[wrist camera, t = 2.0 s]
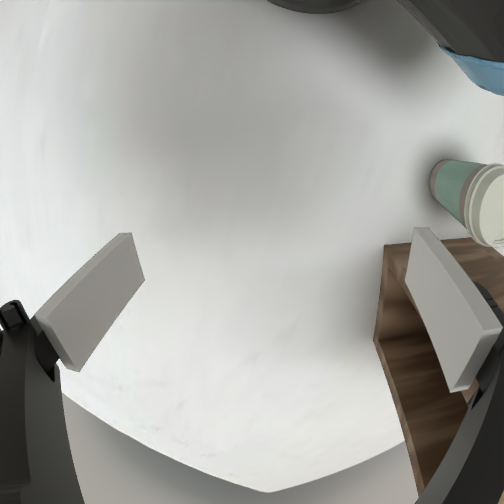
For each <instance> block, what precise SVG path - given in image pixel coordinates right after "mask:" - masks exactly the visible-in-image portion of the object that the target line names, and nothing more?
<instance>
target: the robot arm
mask: <svg viewBox="0 0 504 504" xmlns="http://www.w3.org/2000/svg"><path fill="white" fill-rule="evenodd" d="M268 1H270V2H272V3H274V4H276V5H279V6H281V7H284V8H287V9H290V10H294V11H299V12H305V13H332V12H337V11H341V10H344V9H347V8H349V7H351V6H353V5H355V4H356V3H358V2H359V1H360V0H268ZM397 1H399V2H400V3H401V4H402V5H403V6H404V7H405V8H406V9H407V10H408V11H409V12H410V13H411V14H412V15H413V16H414V17H415V18H416V19H417V20H418V21H419V22H420V23H421V24H422V25H423V26H424V27H425V28H426V29H427V31H428V32H429V33H430V34H431V35H432V36H433V37H434V38H435V40H436V41H437V43H438V44H439V47H440V48H441V49H442V50H443V51H444V52H445V53H447V54H448V55H450V56H451V57H452V58H453V59H454V61H455V62H456V63H457V64H458V65H459V66H460V68H461V69H462V70H463V71H464V73H465V74H466V75H467V76H468V78H469V79H470V80H471V81H472V82H473V83H475V84H476V85H477V86H479V87H480V88H482V89H485V90H487V91H491V92H492V93H494V94H497V95H501V96H504V0H397ZM144 281H145V279H144V275H143V272H142V269H141V265H140V262H139V258H138V255H137V251H136V248H135V244H134V240H133V237H132V233H119V234H118V235H117V236H115V237H114V238H113V239H112V240H111V241H110V242H109V243H107V244H106V245H105V246H104V247H103V248H102V249H101V250H100V251H98V252H97V253H96V254H95V255H94V256H93V257H92V258H91V259H90V260H89V261H88V262H86V263H85V264H84V265H83V266H82V267H81V268H80V269H79V270H78V271H77V272H76V273H75V274H74V275H73V276H72V277H71V278H70V279H69V280H68V281H67V282H65V283H64V284H63V285H62V286H61V287H60V288H59V289H58V290H57V291H56V292H55V293H54V294H53V295H52V296H51V298H50V299H49V300H48V301H47V302H46V303H45V304H44V305H43V306H42V307H41V308H40V309H39V310H38V311H37V312H36V313H35V314H34V316H33V317H32V318H31V319H29V317H28V315H27V314H26V312H25V310H24V308H23V306H22V304H21V302H20V301H19V300H13V301H10V302H8V303H6V304H4V305H3V306H2V307H1V308H0V324H1V326H2V328H3V329H4V330H3V331H1V329H0V504H85V503H84V500H83V497H82V493H81V490H80V486H79V483H78V480H77V475H76V472H75V468H74V464H73V460H72V455H71V450H70V445H69V440H68V435H67V430H66V423H65V416H64V409H63V401H62V393H61V382H60V370H59V367H58V365H57V364H56V362H57V361H58V359H59V358H60V360H61V361H62V363H63V364H64V366H65V367H66V368H67V369H70V370H73V371H76V372H80V370H81V369H82V367H83V366H84V364H85V363H86V361H87V360H88V358H89V357H90V355H91V354H92V353H93V351H94V350H95V348H96V347H97V345H98V344H99V342H100V341H101V339H102V338H103V337H104V335H105V334H106V332H107V331H108V329H109V328H110V327H111V325H112V324H113V322H114V321H115V320H116V318H117V317H118V316H119V314H120V313H121V311H122V310H123V309H124V307H125V306H126V305H127V303H128V302H129V301H130V299H131V298H132V296H133V295H134V294H135V292H136V291H137V290H138V288H139V287H140V286H141V285H142V283H143V282H144ZM405 282H406V284H407V286H408V288H409V291H410V293H411V295H412V297H413V299H414V301H415V304H416V306H417V308H418V310H419V313H420V315H421V317H422V319H423V322H424V324H425V326H426V329H427V331H428V334H429V336H430V339H431V341H432V344H433V346H434V349H435V351H436V354H437V357H438V359H439V362H440V365H441V367H442V370H443V373H444V376H445V379H446V382H447V385H448V388H449V391H450V393H452V392H457V391H461V390H466V389H469V387H470V385H471V384H472V382H473V381H474V379H475V378H476V379H477V382H478V384H479V387H478V388H477V390H476V391H475V393H474V394H473V395H472V397H471V398H470V400H469V401H468V403H467V404H466V406H469V408H468V410H467V412H466V415H465V417H464V419H463V421H462V423H461V426H460V428H459V430H458V432H457V434H456V436H455V438H454V440H453V442H452V444H451V446H450V448H449V449H448V451H447V453H446V455H445V457H444V459H443V460H442V462H441V464H440V466H439V467H438V469H437V471H436V472H435V474H434V476H433V477H432V479H431V480H430V482H429V483H428V485H427V487H426V488H425V490H424V491H423V493H422V494H421V495H420V497H419V498H418V500H417V501H416V503H415V504H498V502H499V500H500V498H501V496H502V493H503V491H504V313H503V312H502V310H501V309H500V307H498V304H497V303H496V302H495V300H493V297H492V296H491V295H490V293H489V292H488V290H487V289H486V288H484V287H483V286H482V285H480V284H479V283H478V282H472V281H471V279H470V278H469V277H468V275H467V274H466V273H465V271H464V270H463V269H462V267H461V266H460V265H459V264H458V262H457V261H456V260H455V258H454V257H453V256H452V255H451V253H450V252H449V251H448V250H447V249H446V247H445V246H444V245H443V244H442V243H441V241H440V240H439V239H438V238H437V237H436V235H435V234H434V233H433V232H432V231H431V230H430V229H429V228H422V227H414V230H413V237H412V244H411V250H410V256H409V261H408V267H407V272H406V277H405ZM469 404H470V405H469Z"/></svg>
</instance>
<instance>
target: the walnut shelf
mask: <svg viewBox="0 0 504 504" xmlns="http://www.w3.org/2000/svg"><path fill="white" fill-rule="evenodd" d="M440 241H441V243H442V244H443V245H444V246H445V247H446V249H447V250H448V251H449V252H450V253H451V255H452V256H453V257H454V258H455V260H456V261H457V262H458V264H459V265H460V266H461V267H462V269H463V270H464V271H465V273H466V274H467V275H468V277H469V278H470V279H471V281H472V282H478V283H479V284H480V285H482V286H483V287H484V288H486V289H487V290H488V292H489V293H490V295H491V296H492V297H493V300H495V302H496V303H497V304H498V307H500V309H501V310H502V312H503V313H504V256H502V255H501V254H500V253H499V252H497V251H496V250H495V249H494V248H492V247H487V246H483V245H481V244H479V243H477V242H475V241H474V240H473V239H472V238H461V239H450V240H440ZM411 244H412V243H404V244H392V245H384V257H383V269H382V279H381V288H380V297H379V305H378V313H377V320H376V326H375V333H374V339H373V342H374V344H375V347H376V350H377V353H378V356H379V358H380V361H381V364H382V367H383V370H384V373H385V376H386V379H387V382H388V385H389V388H390V391H391V394H392V397H393V401H394V404H395V407H396V410H397V414H398V417H399V421H400V424H401V427H402V431H403V435H404V438H405V442H406V445H407V449H408V453H409V457H410V461H411V465H412V469H413V473H414V478H415V482H416V487H417V491H418V496H419V497H420V495H421V494H422V493H423V491H424V490H425V488H426V487H427V485H428V483H429V482H430V480H431V479H432V477H433V476H434V474H435V472H436V471H437V469H438V467H439V466H440V464H441V462H442V460H443V459H444V457H445V455H446V453H447V451H448V449H449V448H450V446H451V444H452V442H453V440H454V438H455V436H456V434H457V432H458V430H459V428H460V426H461V423H462V421H463V419H464V417H465V415H466V412H467V410H468V408H469V406H466V404H467V403H468V401H469V400H470V398H471V397H472V395H473V394H474V393H475V391H476V390H477V388H478V387H479V384H478V382H477V379H476V378H475V379H474V381H473V382H472V384H471V385H470V387H469V389H466V390H461V391H457V392H452V393H450V391H449V388H448V385H447V382H446V379H445V376H444V373H443V370H442V367H441V365H440V362H439V359H438V357H437V354H436V351H435V349H434V346H433V344H432V341H431V339H430V336H429V334H428V331H427V329H426V326H425V324H424V322H423V319H422V317H421V315H420V313H419V310H418V308H417V306H416V304H415V301H414V299H413V297H412V295H411V293H410V291H409V288H408V286H407V284H406V282H405V277H406V272H407V267H408V261H409V256H410V250H411ZM469 405H470V404H469Z"/></svg>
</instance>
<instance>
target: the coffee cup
mask: <svg viewBox="0 0 504 504" xmlns="http://www.w3.org/2000/svg"><path fill="white" fill-rule="evenodd" d="M429 184H430V190H431V193H432V195H433V197H434V198H435V199H436V200H437V201H438V202H439V203H440V204H441V205H442V206H443V207H444V208H445V209H446V210H447V211H449V212H450V213H451V214H452V215H453V216H454V217H455V218H456V219H457V220H458V221H459V222H460V223H461V224H462V225H463V226H464V227H465V228H466V229H467V230H468V233H469V235H470V236H471V238H472V239H473V240H474V241H475V242H477V243H479V244H481V245H483V246H487V247H495V248H499V247H503V246H504V165H502V164H498V163H494V164H490V165H487V164H480V163H473V162H465V161H457V160H443V161H441V162H439V163H438V164H437V165H436V166H435V167H434V168H433V170H432V172H431V175H430V182H429Z"/></svg>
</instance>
